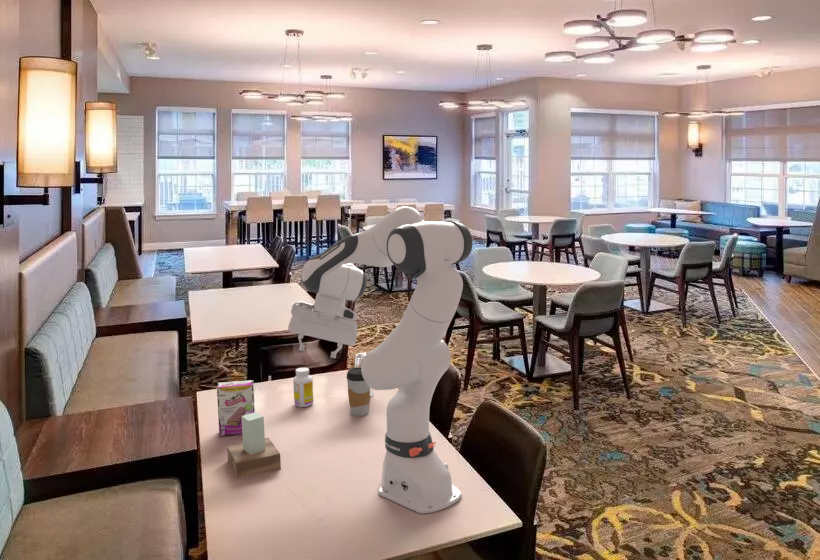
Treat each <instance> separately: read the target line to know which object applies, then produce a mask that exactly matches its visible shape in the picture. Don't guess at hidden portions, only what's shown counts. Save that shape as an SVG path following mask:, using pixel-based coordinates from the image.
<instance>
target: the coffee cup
mask: <svg viewBox="0 0 820 560" xmlns="http://www.w3.org/2000/svg"><path fill="white" fill-rule="evenodd" d="M346 381H347V393H348V394H347V395H348V405H349V412H350V414H351V415H352V416H356V417H362V416H363V417H364V416H366V415H368V413H369V411H370V398H371V397H370V387H369V386H368V385H367V383H366V382H365V380H364V379H363V376H362V371H361V367H357V368H355V367H352V368H349V369H348V370H347V373H346Z"/></svg>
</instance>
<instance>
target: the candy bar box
mask: <svg viewBox="0 0 820 560" xmlns="http://www.w3.org/2000/svg"><path fill="white" fill-rule="evenodd" d="M254 388H255V385H254V379H253V380H251V379H249V380H235V381H222V382H217V386H216V396H217V413H218V414H217V415H218V417H217V418H218V433H219V437H228V436H235V435H236V436H237V435H239V436H240V435H242V418H241V416H243V415H247V414H251V413H254V412H256V409H255V389H254Z"/></svg>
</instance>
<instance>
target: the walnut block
mask: <svg viewBox="0 0 820 560" xmlns="http://www.w3.org/2000/svg"><path fill="white" fill-rule="evenodd" d="M226 449H227V462H228V463H229V466H230V467H231V469H232V471H233V473H234V475H235V477H236V479H237V478H240V479H243V478H242V477H244V478H247V477H246V476H248V477H252V475H253V476H257V475H261V474H265V472H266V473H269V471H270V472H274V471H277V470H281V469H282V467H281V466H282V465H281V462H282V461H281V453H280V451H279V450H278V448H276V446H275V444H274V443H273V441H272V440H271V438H270V437H265V450H264V451H261V452H258V453H255V454H252V455H250V454H249V453H247V452H246V451H245V450H243V442H240V443H236V444H231V445H226ZM273 470H274V471H273ZM260 473H261V474H260ZM256 474H257V475H256Z"/></svg>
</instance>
